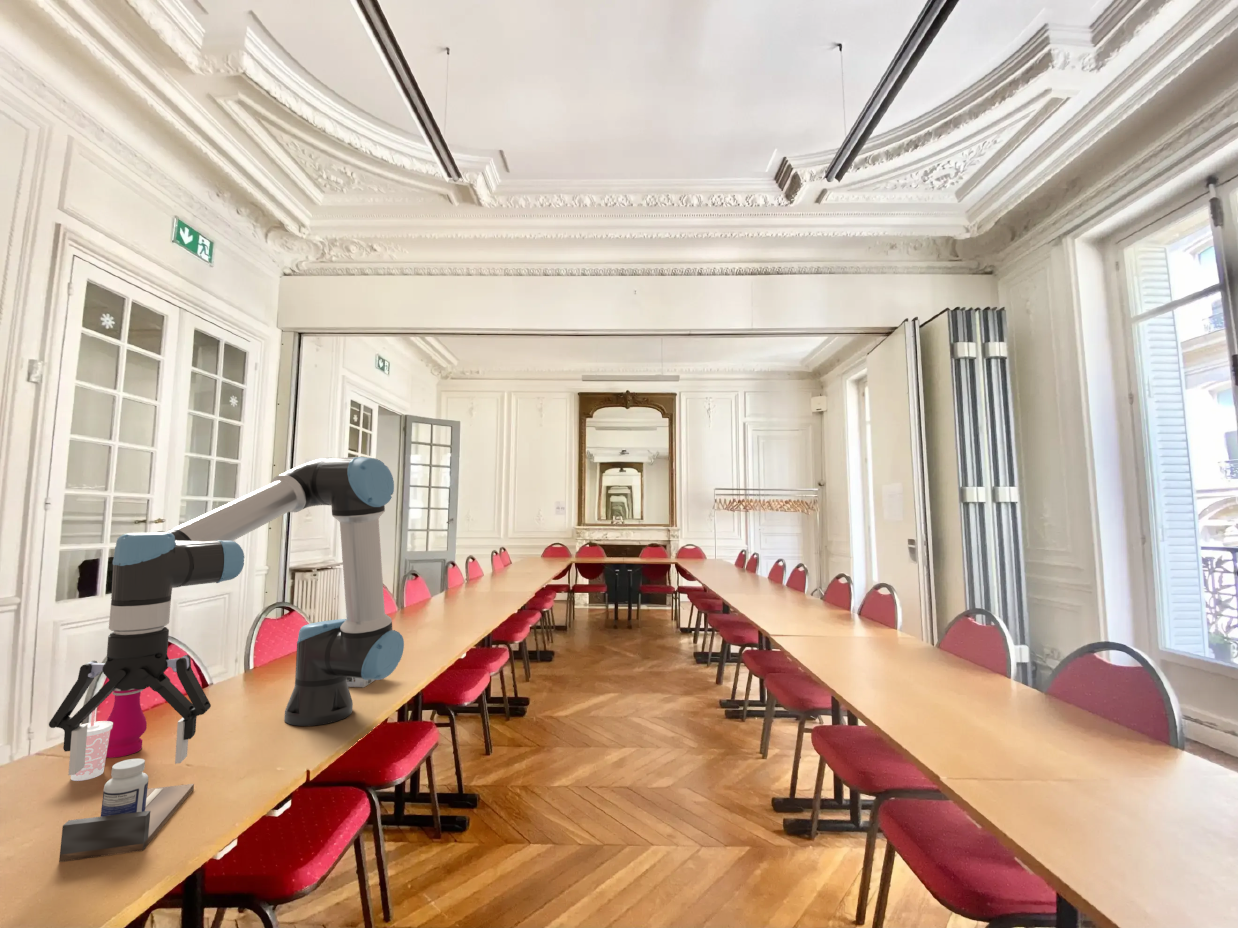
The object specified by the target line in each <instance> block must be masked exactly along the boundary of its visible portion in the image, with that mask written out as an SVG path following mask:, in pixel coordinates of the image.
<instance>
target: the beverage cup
mask: <svg viewBox="0 0 1238 928" xmlns="http://www.w3.org/2000/svg"><path fill="white" fill-rule="evenodd" d="M95 717H96V709H95V710H94V711H93V712H92V713H91V717H90V718H91V719H90V722H87V723H83V724H82V723H81V724H80V726H81V725H87V724H88V726H87V740H86V753H85V766H84V768H82V769H81V770H80V771H79V772H77V773H76V774H75V775H70V780H71V781H75V782H77V781H78V782H79V781H80V782H81V781H87V780H92V779H94V778H96V777H100V776H101V775H103V773H104V770H105V765H106V758H107V757H106V754H107V748H108V742H109V736H110V730H111V729H112V727H113V726H112V725H113V722H111V721H107V720H100V721H98V720H97V721H95Z"/></svg>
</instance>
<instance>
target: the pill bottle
mask: <svg viewBox="0 0 1238 928" xmlns="http://www.w3.org/2000/svg"><path fill="white" fill-rule="evenodd" d="M145 763H146V759H144V758H131V759H124V760H122V761H118V762H115V764H113V765H112V766H111V767H112V768H111V772H110V773H111V775H110V776H111V778H109V780H107V782H105V783H104V787H103V791H102V800H101V801H102V802H101V808H100V809H101V810H100V816H110V815H118V814H126V813H135V812H143V811H145V807H146V798H147V789H149V787H148V786H149V775H148V774H147V773H145V772H143V771H144V770H145V766H146V765H145Z"/></svg>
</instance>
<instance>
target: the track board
mask: <svg viewBox="0 0 1238 928" xmlns="http://www.w3.org/2000/svg"><path fill="white" fill-rule="evenodd" d="M194 787H195V783H188V784H181V785H179V784H178V785H170V786H162V787H160V786H159V787H152V788H147V798H146V807H145V811H143V812H135V813H126V814H118V815H110V816H101V815H100V816H94V817H86V818H78V819H71V820H70V819H69V820H68V821H66V822H65V823H64V824H63V825H62V830H61V840H60V849H59V857H58V862H59V863H61V862H63V863H64V862H69V861H70V862H71V861H77V860H83V859H84V860H85V859H90V858H91V859H92V858H97V857H98V858H99V857H100V858H101V857H106V856H114V855H121V854H127V853H134V852H135V853H136V852H143V851H144V850H145V849H146V847H147V846H148V845H150V843H151V841H152V840H153V839H154V838H155V837H156V836H157V834H158V833H159V832H160V830H162V828H163V827H164V826H165V824H166V823H167V822H168V821H169V820H170V818H171V817H172V816H174V814H175V812H177V810H178V809H179V807H180V806H181V805H182V804H183V803H184V801H185V800H187V798H188V797H189V796H190V795H191V793H192V792H193V791H194V790H195V789H194Z"/></svg>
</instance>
